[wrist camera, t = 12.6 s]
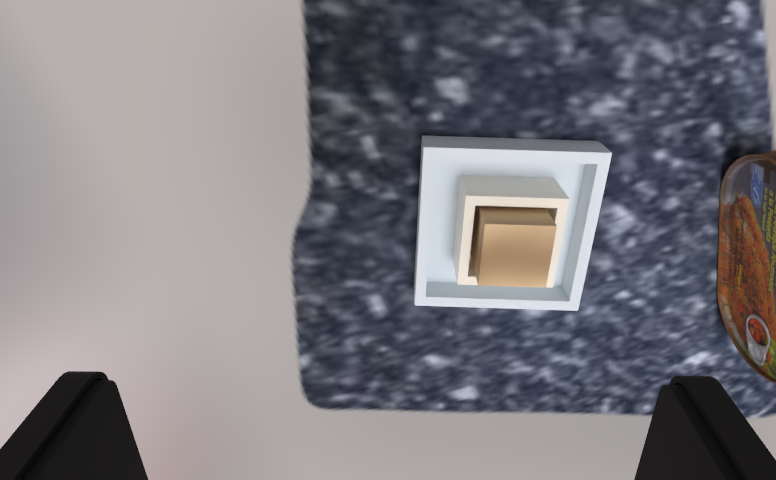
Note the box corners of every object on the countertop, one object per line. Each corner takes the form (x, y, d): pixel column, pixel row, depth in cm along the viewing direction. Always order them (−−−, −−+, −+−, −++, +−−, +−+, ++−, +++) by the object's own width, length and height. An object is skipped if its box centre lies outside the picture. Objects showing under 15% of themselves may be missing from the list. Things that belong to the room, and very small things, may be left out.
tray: (422, 135, 34) (423, 147, 32) (598, 140, 34) (612, 152, 32) (413, 286, 39) (414, 305, 37) (567, 291, 39) (578, 310, 37)
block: (475, 194, 34) (485, 224, 30) (538, 195, 34) (557, 226, 30) (469, 250, 36) (478, 285, 32) (529, 251, 36) (546, 287, 32)
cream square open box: (459, 175, 35) (465, 195, 31) (554, 178, 35) (569, 198, 31) (452, 257, 37) (457, 284, 34) (540, 260, 37) (552, 287, 34)
